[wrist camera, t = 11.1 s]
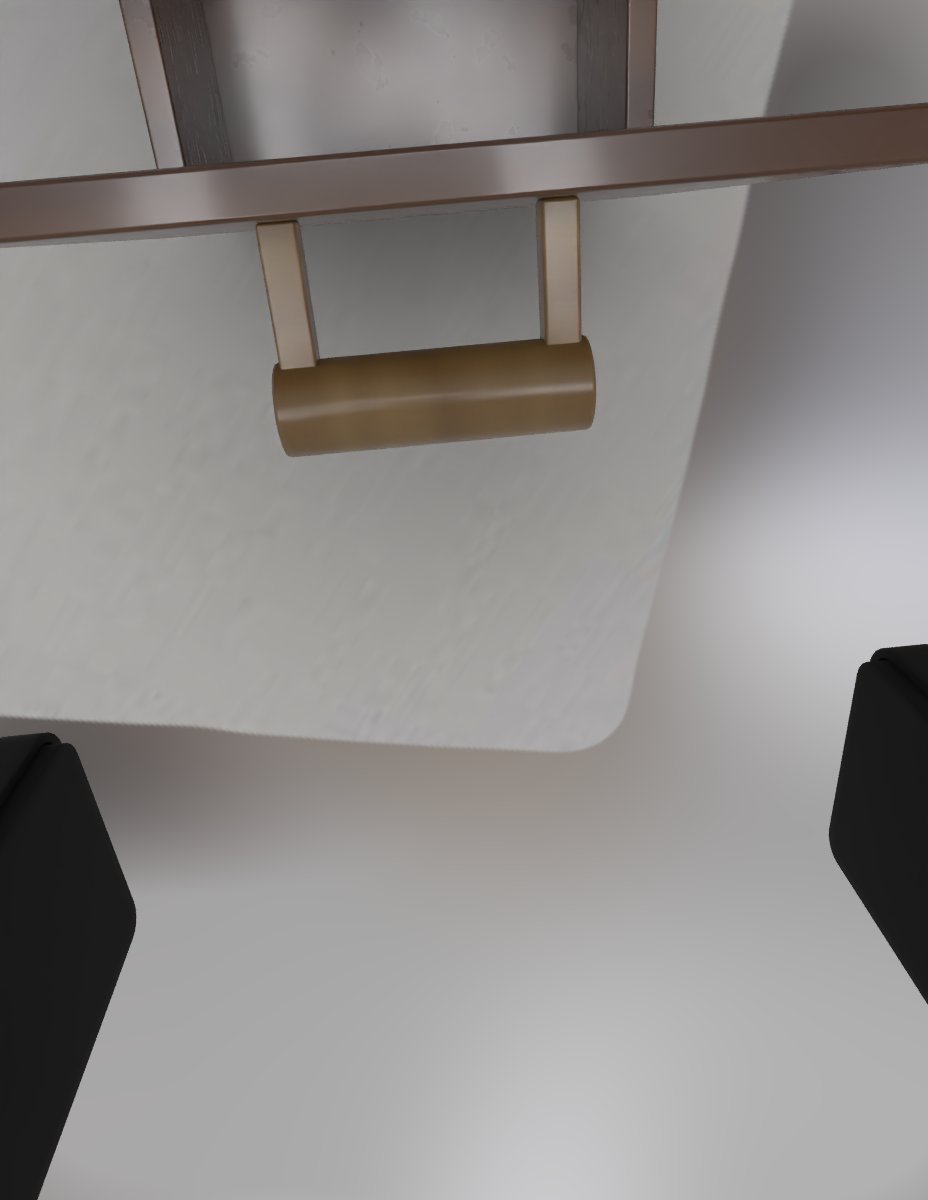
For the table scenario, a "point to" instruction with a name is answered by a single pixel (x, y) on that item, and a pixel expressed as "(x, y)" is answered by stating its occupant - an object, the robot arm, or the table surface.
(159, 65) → the chest
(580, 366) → the lid
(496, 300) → the table surface
